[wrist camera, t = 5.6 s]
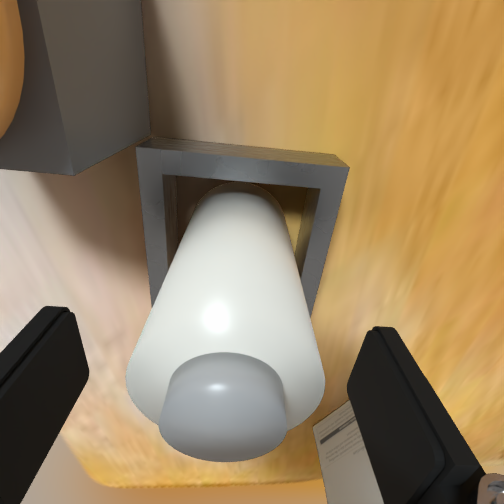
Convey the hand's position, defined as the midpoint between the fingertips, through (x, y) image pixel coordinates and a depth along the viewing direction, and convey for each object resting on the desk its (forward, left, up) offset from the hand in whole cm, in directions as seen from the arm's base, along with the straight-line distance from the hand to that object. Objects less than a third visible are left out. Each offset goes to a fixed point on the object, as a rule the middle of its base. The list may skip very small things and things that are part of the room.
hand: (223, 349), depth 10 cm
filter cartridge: (0, -1, -8) cm, 8 cm away
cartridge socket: (0, -1, -8) cm, 8 cm away
